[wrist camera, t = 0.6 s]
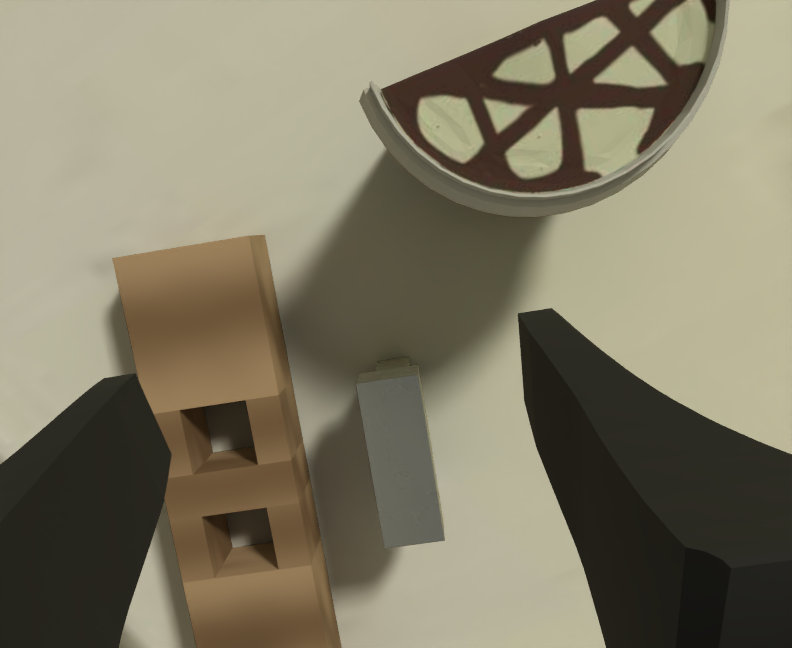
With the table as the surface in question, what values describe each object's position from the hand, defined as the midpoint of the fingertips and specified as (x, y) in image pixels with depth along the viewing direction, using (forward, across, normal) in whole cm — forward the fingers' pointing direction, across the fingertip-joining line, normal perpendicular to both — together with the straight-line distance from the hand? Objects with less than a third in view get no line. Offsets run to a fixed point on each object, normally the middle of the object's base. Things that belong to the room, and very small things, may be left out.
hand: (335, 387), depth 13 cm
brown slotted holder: (+15, +8, +15) cm, 22 cm away
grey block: (+15, 0, +14) cm, 21 cm away
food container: (+20, -7, +3) cm, 22 cm away
